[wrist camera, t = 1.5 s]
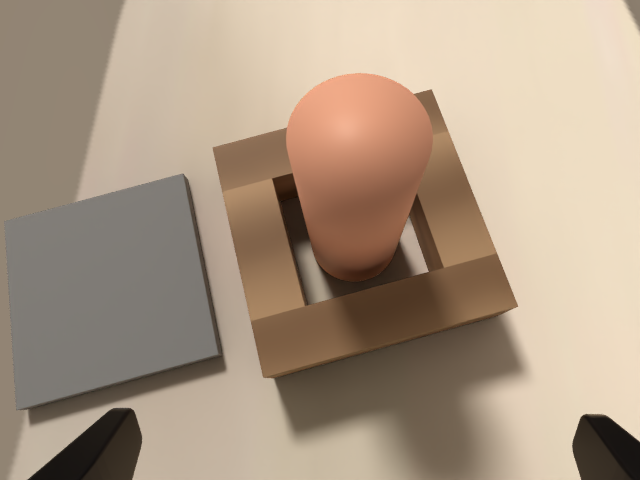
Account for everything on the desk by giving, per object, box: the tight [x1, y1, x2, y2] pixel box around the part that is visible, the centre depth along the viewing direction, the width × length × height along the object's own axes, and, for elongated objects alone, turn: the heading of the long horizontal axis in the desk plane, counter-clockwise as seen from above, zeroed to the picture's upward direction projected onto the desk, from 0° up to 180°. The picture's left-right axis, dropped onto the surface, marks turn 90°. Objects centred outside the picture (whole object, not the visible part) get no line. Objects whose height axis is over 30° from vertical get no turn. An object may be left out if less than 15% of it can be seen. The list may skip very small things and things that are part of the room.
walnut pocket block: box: [213, 89, 518, 378], centre depth 23 cm, size 12×12×3 cm
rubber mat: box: [4, 174, 222, 410], centre depth 25 cm, size 10×10×1 cm
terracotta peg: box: [286, 73, 433, 282], centre depth 20 cm, size 4×4×11 cm
